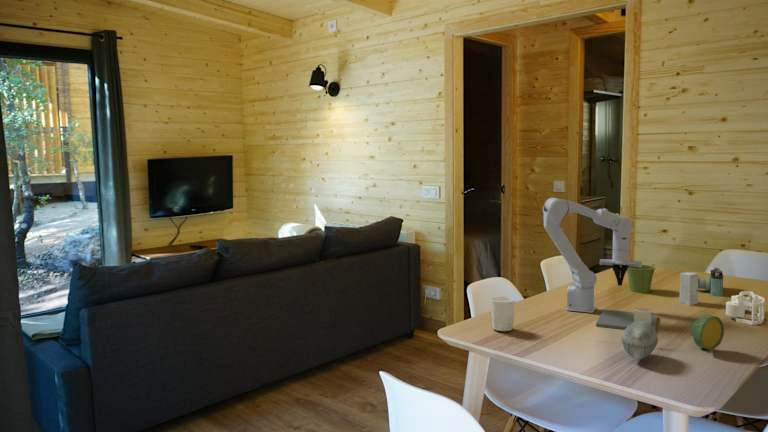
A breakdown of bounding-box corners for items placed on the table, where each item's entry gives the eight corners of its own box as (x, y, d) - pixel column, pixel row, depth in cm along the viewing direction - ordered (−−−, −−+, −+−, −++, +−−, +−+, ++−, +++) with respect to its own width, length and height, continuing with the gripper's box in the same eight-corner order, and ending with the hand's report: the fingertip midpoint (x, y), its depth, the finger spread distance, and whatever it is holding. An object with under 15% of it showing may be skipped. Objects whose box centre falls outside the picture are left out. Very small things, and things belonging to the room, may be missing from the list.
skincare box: (689, 306, 219) (691, 275, 218) (678, 304, 222) (679, 273, 221) (698, 304, 222) (699, 273, 221) (687, 302, 226) (688, 271, 225)
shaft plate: (596, 326, 195) (596, 314, 195) (603, 312, 213) (603, 301, 213) (654, 332, 187) (655, 320, 187) (657, 317, 205) (657, 305, 204)
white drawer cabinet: (633, 324, 194) (634, 310, 193) (634, 320, 198) (635, 306, 198) (650, 325, 192) (651, 312, 191) (651, 321, 196) (651, 308, 196)
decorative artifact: (700, 352, 168) (701, 318, 167) (679, 345, 174) (680, 312, 173) (723, 347, 172) (724, 314, 171) (702, 340, 178) (703, 309, 177)
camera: (695, 288, 249) (696, 265, 248) (721, 290, 245) (722, 267, 244) (695, 296, 235) (696, 272, 234) (722, 298, 230) (723, 274, 229)
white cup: (500, 333, 190) (500, 303, 189) (486, 327, 197) (485, 298, 196) (519, 329, 193) (519, 300, 192) (504, 323, 200) (504, 295, 199)
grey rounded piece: (625, 336, 176) (624, 309, 172) (660, 341, 171) (660, 313, 167) (618, 365, 165) (617, 337, 161) (655, 371, 161) (655, 342, 156)
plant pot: (657, 291, 244) (657, 265, 243) (653, 297, 234) (653, 270, 233) (627, 288, 250) (627, 263, 249) (621, 294, 240) (622, 267, 239)
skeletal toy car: (732, 308, 215) (733, 289, 215) (768, 313, 208) (769, 293, 208) (723, 321, 200) (724, 300, 199) (761, 326, 193) (762, 304, 192)
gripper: (598, 249, 214) (598, 285, 215) (641, 251, 207) (640, 288, 208) (601, 246, 220) (600, 281, 221) (642, 248, 213) (641, 285, 214)
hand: (620, 285), depth 215 cm, fingers closed
